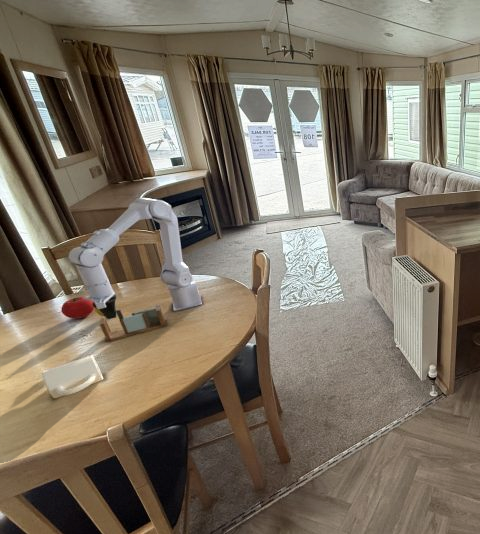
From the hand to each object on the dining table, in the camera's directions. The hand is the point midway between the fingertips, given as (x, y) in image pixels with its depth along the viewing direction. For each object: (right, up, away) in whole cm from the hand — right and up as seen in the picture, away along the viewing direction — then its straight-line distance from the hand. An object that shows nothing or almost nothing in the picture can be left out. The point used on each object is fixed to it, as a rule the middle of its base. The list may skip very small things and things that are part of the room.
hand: (112, 317), depth 115 cm
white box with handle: (+10, -18, -19) cm, 28 cm away
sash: (+4, -5, +6) cm, 9 cm away
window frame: (+3, -6, +7) cm, 9 cm away
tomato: (-25, -2, +14) cm, 29 cm away
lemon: (-15, -2, +14) cm, 21 cm away
